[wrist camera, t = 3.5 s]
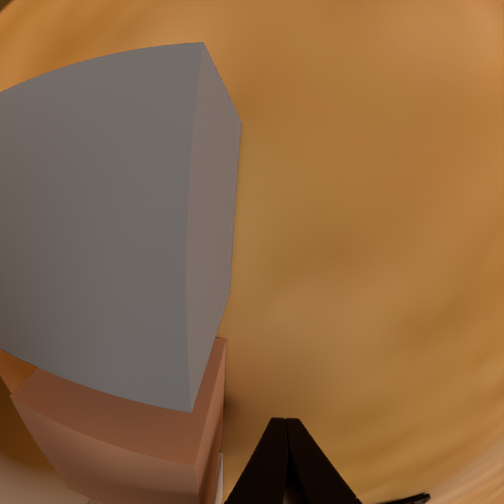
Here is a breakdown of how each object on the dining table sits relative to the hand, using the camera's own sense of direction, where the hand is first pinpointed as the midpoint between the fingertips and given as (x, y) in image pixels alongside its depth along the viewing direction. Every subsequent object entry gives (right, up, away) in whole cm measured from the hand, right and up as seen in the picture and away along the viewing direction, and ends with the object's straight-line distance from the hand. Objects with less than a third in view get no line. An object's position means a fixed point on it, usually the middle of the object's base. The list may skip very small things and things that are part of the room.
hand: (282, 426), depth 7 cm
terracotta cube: (-4, +1, +1) cm, 4 cm away
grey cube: (-4, +6, 0) cm, 7 cm away
